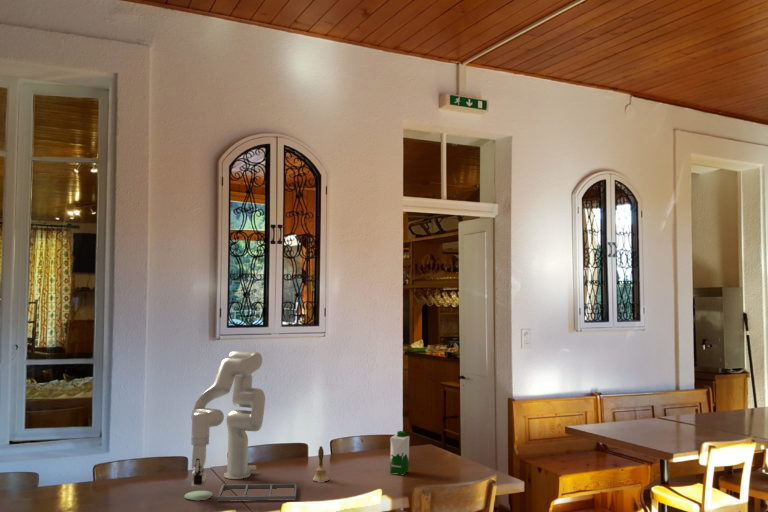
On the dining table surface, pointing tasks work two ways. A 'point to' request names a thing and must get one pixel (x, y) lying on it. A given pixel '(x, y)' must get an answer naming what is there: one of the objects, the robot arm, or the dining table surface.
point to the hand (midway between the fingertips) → (198, 481)
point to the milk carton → (399, 453)
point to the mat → (198, 495)
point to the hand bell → (320, 468)
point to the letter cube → (202, 478)
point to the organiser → (255, 486)
